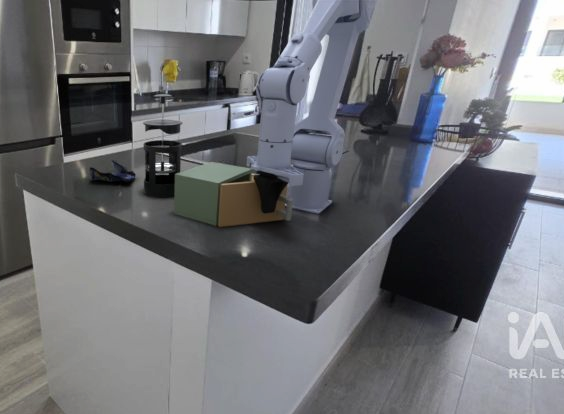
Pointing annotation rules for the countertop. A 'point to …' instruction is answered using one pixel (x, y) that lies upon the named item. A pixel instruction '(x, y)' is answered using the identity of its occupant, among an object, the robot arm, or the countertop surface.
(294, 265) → the countertop surface
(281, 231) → the countertop surface
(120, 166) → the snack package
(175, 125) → the french press
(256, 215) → the door
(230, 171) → the cupboard
